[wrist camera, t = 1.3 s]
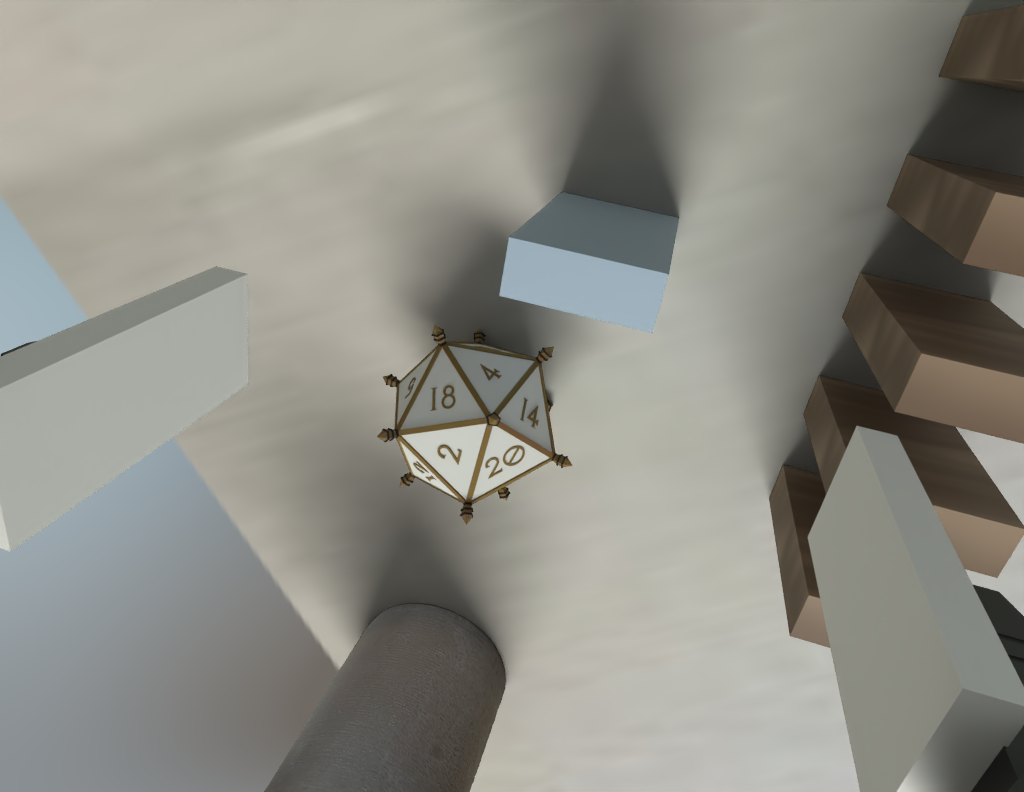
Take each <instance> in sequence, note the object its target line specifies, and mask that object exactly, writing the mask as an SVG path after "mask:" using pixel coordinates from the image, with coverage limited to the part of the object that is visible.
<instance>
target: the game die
mask: <svg viewBox="0 0 1024 792" xmlns="http://www.w3.org/2000/svg"><path fill="white" fill-rule="evenodd" d="M432 336H433V337H434V341H436V342H437V343H438V346H437V347H436V348H435V349H433V350H432V351H431V352H430V353H429V354H428V355H427V356H426V357H425V358H424V359H423V360H422V361H421V362H420V363H419V364H418V365H417V366H416V367H414V368H413V369H412V370H411V371H410V372H409V373H408V374H407V375H406V376H405V377H404V378H403V379H402V380H401V381H400V380H398V379H397V377H396V376H395V377H394V376H393V375H392V374H391V375H389V376H384V377H383V379H384V380H385V382H386V385H390V387H394V386H395V387H397V393H396V412H395V429H394V430H392V429H390V428H388V429H387V430H386V429H383V430H382V432H381V433H380V434H379V435H378V436H377V437H378V438H380V439H382V440H384V442H387V441H388V440H389V441H391V440H393V439H394V438H396V439H397V441H398V444H399V446H400V449H401V451H402V453H403V456H404V458H405V460H406V463H407V465H408V468H409V470H410V473H409V474H408V473H407V474H405V475H404V476H403V477H401V483H400V486H410V483H413V480H414V478H418V479H419V480H421V481H423V482H425V483H427V484H429V485H430V486H432V487H434V488H436V489H438V490H440V491H441V492H443V493H445V494H447V495H449V496H451V497H452V498H454V499H456V500H458V501H460V502H461V503H463V504H464V506H463V508H462V509H461V511H462V514H460V516H462V518H463V520H464V521H465V523H466V525H467V523H468V522H469V521H470V519H471V518H473V514H472V512H473V508H472V507H471V506H472V504H474V503H476V502H478V501H479V500H481V499H483V498H485V497H487V496H489V495H491V494H492V493H494V492H496V491H498V493H499V495H500V498H503V499H505V500H507V498H508V495H509V494H510V492H509V491H508V488H506V487H505V486H507V485H509V484H511V483H512V482H514V481H516V480H518V479H520V478H521V477H523V476H525V475H527V474H529V473H530V472H532V471H534V470H536V469H538V468H539V467H541V466H543V465H545V464H547V463H548V462H550V461H554V462H555V463H556V465H557V466H558V465H560V466H561V468H563V467H567V466H572V464H571V462H570V461H569V459H568V458H567V457H568V456H566V457H565V456H563V454H561V455H558V454H556V453H555V448H554V441H553V435H552V429H551V422H550V416H549V412H550V409H551V407H552V406H553V404H551V403H550V402H549V401H548V400H547V397H546V391H545V384H544V378H543V372H542V365H541V363H542V362H543V361H547V360H548V358H549V357H552V356H551V355H552V351H553V348H554V347H548V348H542V349H543V350H542V351H541V352H540V351H539V354H538V356H537V357H532V356H528V355H524V354H520V353H517V352H513V351H509V350H505V349H501V348H497V347H494V346H490V345H486V344H482V343H483V341H485V339H484V337H485V335H484V334H483V333H482V331H481V330H480V329H479V330H478V331H477V332H476V333H474V342H476V343H471V342H448V341H445V338H446V337H445V334H444V329H441V328H439V327H437V326H436V325H435V326H434V331H433V334H432Z"/></svg>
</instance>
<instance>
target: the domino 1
mask: <svg viewBox="0 0 1024 792" xmlns="http://www.w3.org/2000/svg"><path fill="white" fill-rule="evenodd" d="M678 221H679V218H678V217H673V216H668V215H664V214H659V213H655V212H650V211H646V210H641V209H637V208H632V207H628V206H623V205H619V204H614V203H609V202H605V201H600V200H596V199H591V198H587V197H582V196H578V195H573V194H569V193H564V192H561V193H560V194H559V195H558V196H557V197H556V198H554V199H553V200H552V201H551V202H550V203H549V204H547V205H546V206H545V207H544V208H543V209H542V210H540V211H539V212H538V213H537V214H536V215H534V216H533V217H532V218H531V219H530V220H529V221H527V222H526V223H525V224H524V225H523V226H522V227H520V228H519V229H518V230H517V231H516V232H515V233H513V234H512V235H511V236H510V237H509V240H508V246H507V252H506V258H505V264H504V270H503V276H502V282H501V288H500V294H499V296H502V297H506V298H510V299H515V300H519V301H523V302H527V303H531V304H535V305H539V306H543V307H547V308H551V309H555V310H559V311H563V312H568V313H572V314H576V315H580V316H584V317H588V318H592V319H596V320H600V321H604V322H608V323H612V324H617V325H621V326H625V327H629V328H633V329H637V330H641V331H645V332H649V333H653V329H654V326H655V322H656V319H657V315H658V311H659V308H660V304H661V301H662V297H663V293H664V290H665V286H666V282H667V279H668V275H669V270H670V265H671V259H672V254H673V248H674V243H675V237H676V232H677V226H678Z"/></svg>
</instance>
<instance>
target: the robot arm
mask: <svg viewBox="0 0 1024 792" xmlns="http://www.w3.org/2000/svg"><path fill="white" fill-rule="evenodd" d="M247 385H248V282H247V274H245V273H241V272H237V271H233V270H229V269H225V268H221V267H217V266H216V267H214V268H211V269H209V270H206V271H204V272H202V273H199V274H197V275H195V276H192V277H190V278H187V279H185V280H183V281H180V282H178V283H175V284H173V285H171V286H168V287H166V288H163V289H161V290H159V291H156V292H154V293H151V294H149V295H147V296H144V297H142V298H140V299H137V300H135V301H132V302H130V303H128V304H125V305H123V306H120V307H118V308H116V309H113V310H111V311H108V312H106V313H104V314H101V315H99V316H96V317H94V318H92V319H89V320H87V321H84V322H82V323H80V324H77V325H75V326H73V327H70V328H68V329H65V330H63V331H61V332H58V333H56V334H54V335H51V336H49V337H46V338H44V339H42V340H39V341H35V342H30V343H26V344H24V345H21V346H19V347H17V348H14V349H12V350H9V351H7V352H4V353H2V354H1V356H0V548H1V549H4V550H7V551H12V550H13V549H15V548H16V547H18V546H19V545H20V544H22V543H23V542H25V541H26V540H27V539H29V538H30V537H32V536H33V535H35V534H36V533H37V532H39V531H40V530H42V529H43V528H44V527H46V526H47V525H49V524H50V523H52V522H53V521H55V520H56V519H57V518H59V517H60V516H62V515H63V514H64V513H66V512H67V511H69V510H70V509H72V508H73V507H74V506H76V505H77V504H79V503H80V502H82V501H83V500H84V499H86V498H87V497H89V496H90V495H91V494H93V493H94V492H96V491H97V490H99V489H100V488H101V487H103V486H104V485H106V484H107V483H108V482H110V481H111V480H113V479H114V478H116V477H117V476H119V475H120V474H121V473H123V472H124V471H126V470H127V469H128V468H130V467H131V466H133V465H134V464H135V463H137V462H138V461H140V460H141V459H143V458H144V457H146V456H147V455H148V454H150V453H151V452H152V451H154V450H156V449H157V448H158V447H160V446H161V445H162V444H164V443H165V442H167V441H168V440H170V439H171V438H173V437H174V436H175V435H177V434H178V433H180V432H181V431H183V430H184V429H185V428H187V427H188V426H190V425H191V424H193V423H194V422H195V421H197V420H198V419H200V418H201V417H202V416H204V415H205V414H207V413H208V412H210V411H211V410H212V409H214V408H215V407H217V406H218V405H220V404H221V403H222V402H224V401H225V400H227V399H228V398H229V397H231V396H232V395H234V394H235V393H237V392H238V391H239V390H241V389H242V388H244V387H245V386H247ZM808 542H809V546H810V551H811V556H812V561H813V566H814V570H815V575H816V580H817V585H818V590H819V595H820V599H821V604H822V609H823V614H824V619H825V623H826V628H827V633H828V638H829V643H830V648H831V652H832V657H833V662H834V667H835V672H836V676H837V681H838V686H839V691H840V696H841V701H842V705H843V710H844V715H845V720H846V725H847V729H848V734H849V739H850V744H851V749H852V754H853V758H854V763H855V768H856V773H857V778H858V783H859V787H860V792H1024V616H1023V615H1022V614H1021V613H1020V612H1019V611H1018V610H1017V609H1016V608H1015V607H1014V606H1013V605H1012V604H1011V603H1010V602H1009V601H1008V600H1007V599H1006V598H1005V597H1004V596H1003V595H1002V594H1001V593H1000V592H998V591H994V590H990V589H987V588H983V587H980V586H976V585H972V583H971V581H970V579H969V577H968V575H967V573H966V571H965V569H964V567H963V565H962V563H961V561H960V559H959V557H958V555H957V553H956V551H955V549H954V547H953V545H952V543H951V541H950V539H949V537H948V535H947V533H946V531H945V529H944V527H943V525H942V523H941V521H940V519H939V517H938V515H937V513H936V511H935V509H934V507H933V505H932V503H931V501H930V499H929V497H928V496H927V494H926V492H925V490H924V488H923V486H922V484H921V482H920V480H919V478H918V476H917V474H916V472H915V470H914V468H913V466H912V464H911V462H910V460H909V458H908V456H907V454H906V452H905V450H904V448H903V446H902V444H901V442H900V440H899V438H898V436H896V435H892V434H888V433H884V432H880V431H876V430H872V429H868V428H864V427H860V426H856V428H855V431H854V433H853V435H852V437H851V440H850V442H849V444H848V447H847V449H846V451H845V453H844V456H843V458H842V460H841V462H840V465H839V467H838V469H837V472H836V474H835V476H834V478H833V481H832V483H831V485H830V487H829V490H828V492H827V494H826V496H825V499H824V501H823V503H822V506H821V508H820V510H819V512H818V515H817V517H816V519H815V521H814V524H813V526H812V528H811V531H810V533H809V535H808Z"/></svg>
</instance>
